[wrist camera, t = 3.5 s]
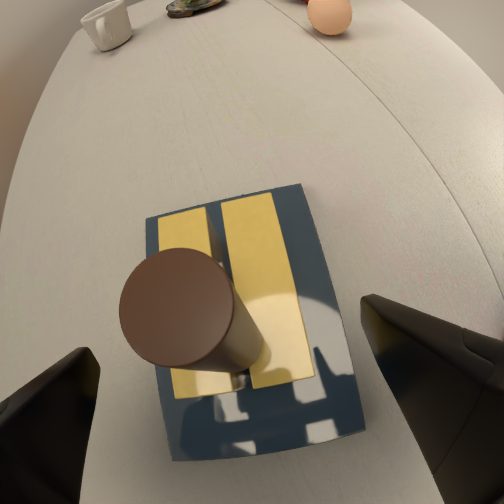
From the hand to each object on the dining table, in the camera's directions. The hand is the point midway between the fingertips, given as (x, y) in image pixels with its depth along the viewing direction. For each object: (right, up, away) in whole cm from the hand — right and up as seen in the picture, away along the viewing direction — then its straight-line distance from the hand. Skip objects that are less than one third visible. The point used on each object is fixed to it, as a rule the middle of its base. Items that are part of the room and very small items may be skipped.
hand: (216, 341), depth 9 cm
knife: (+1, -2, +7) cm, 7 cm away
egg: (+11, +31, +22) cm, 40 cm away
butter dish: (+1, -1, +9) cm, 9 cm away
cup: (-22, +37, +28) cm, 52 cm away
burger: (-9, +48, +32) cm, 58 cm away
